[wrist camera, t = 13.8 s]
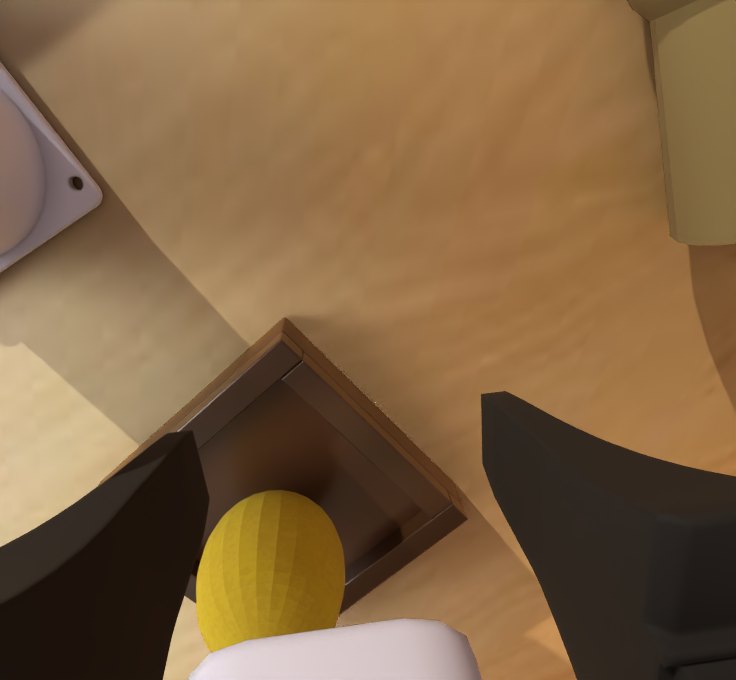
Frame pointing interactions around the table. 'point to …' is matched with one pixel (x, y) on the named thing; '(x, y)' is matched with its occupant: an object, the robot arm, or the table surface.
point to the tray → (316, 457)
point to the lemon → (269, 571)
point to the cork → (696, 114)
